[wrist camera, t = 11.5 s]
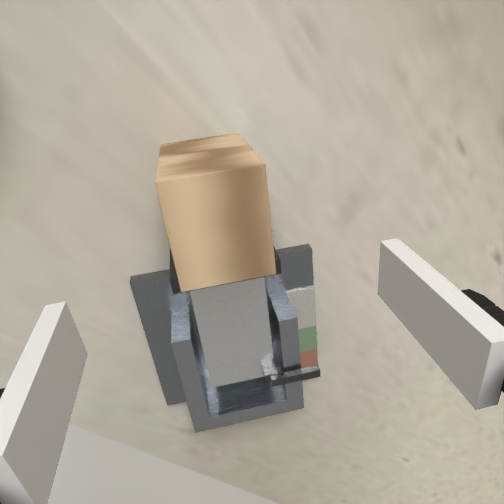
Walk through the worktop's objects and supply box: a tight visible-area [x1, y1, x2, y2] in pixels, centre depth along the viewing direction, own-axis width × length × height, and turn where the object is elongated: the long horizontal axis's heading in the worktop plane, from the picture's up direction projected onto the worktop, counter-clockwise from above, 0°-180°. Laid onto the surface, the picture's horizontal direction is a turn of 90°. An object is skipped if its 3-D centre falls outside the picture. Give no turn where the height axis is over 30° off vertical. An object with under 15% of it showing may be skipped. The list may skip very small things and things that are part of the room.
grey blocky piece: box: [170, 246, 320, 388], centre depth 33 cm, size 11×13×5 cm
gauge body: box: [130, 244, 318, 433], centre depth 36 cm, size 16×15×5 cm
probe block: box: [155, 133, 276, 292], centre depth 27 cm, size 6×7×10 cm
